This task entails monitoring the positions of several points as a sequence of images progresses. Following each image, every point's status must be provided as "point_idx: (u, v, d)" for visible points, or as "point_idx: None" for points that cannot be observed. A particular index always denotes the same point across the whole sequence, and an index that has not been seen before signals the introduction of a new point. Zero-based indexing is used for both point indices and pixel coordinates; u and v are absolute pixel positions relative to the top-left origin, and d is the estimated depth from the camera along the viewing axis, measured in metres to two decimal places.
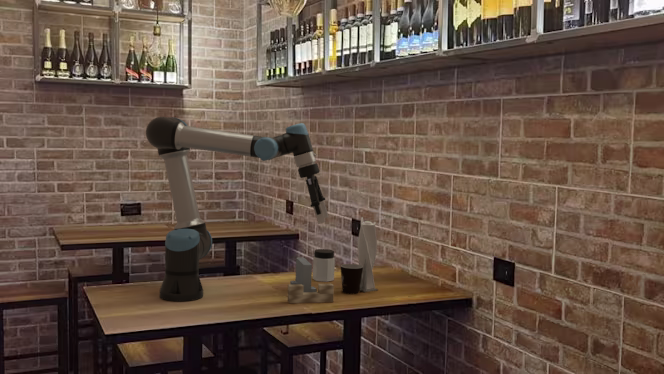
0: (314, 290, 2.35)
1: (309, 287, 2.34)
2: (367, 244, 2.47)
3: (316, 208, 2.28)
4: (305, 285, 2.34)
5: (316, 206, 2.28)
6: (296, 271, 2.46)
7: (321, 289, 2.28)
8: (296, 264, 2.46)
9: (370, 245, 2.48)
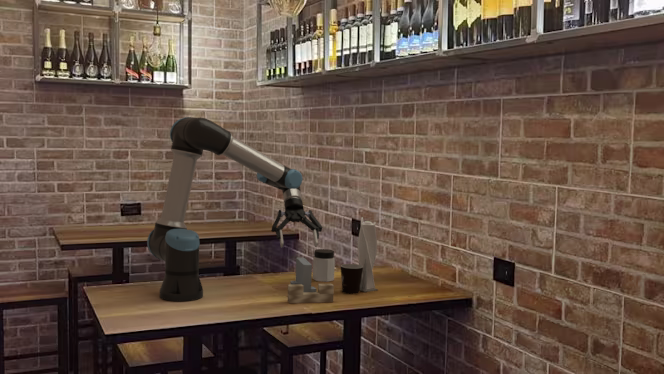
0: (314, 290, 2.35)
1: (309, 287, 2.34)
2: (367, 244, 2.47)
3: None
4: (305, 285, 2.34)
5: None
6: (296, 271, 2.46)
7: (321, 289, 2.28)
8: (296, 264, 2.46)
9: (370, 245, 2.48)
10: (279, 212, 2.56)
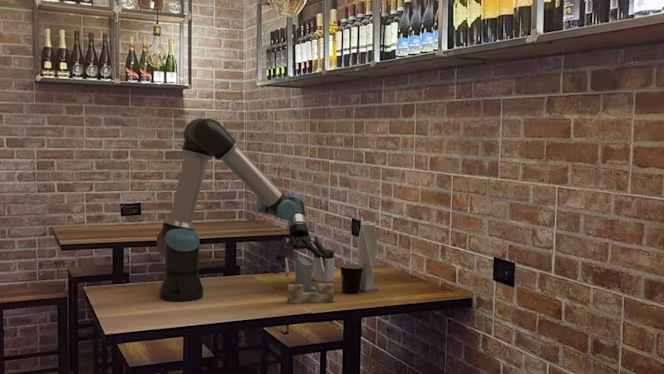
0: (314, 290, 2.35)
1: (309, 287, 2.34)
2: (367, 244, 2.47)
3: None
4: (305, 285, 2.34)
5: (324, 259, 2.46)
6: (296, 271, 2.46)
7: (321, 289, 2.28)
8: (296, 264, 2.46)
9: (370, 245, 2.48)
10: (284, 239, 2.47)
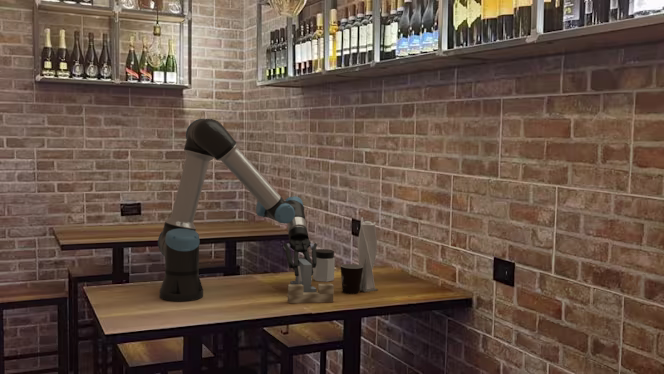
0: (314, 290, 2.35)
1: (309, 287, 2.34)
2: (367, 244, 2.47)
3: None
4: (305, 285, 2.34)
5: (312, 268, 2.42)
6: None
7: (321, 289, 2.28)
8: None
9: (370, 245, 2.48)
10: (285, 246, 2.44)
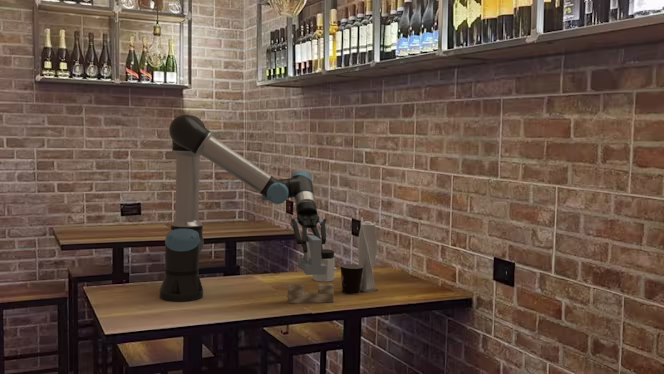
0: (324, 267, 2.22)
1: (318, 264, 2.21)
2: (367, 244, 2.47)
3: None
4: (314, 262, 2.21)
5: (321, 244, 2.29)
6: None
7: (321, 289, 2.28)
8: None
9: (370, 245, 2.48)
10: (293, 221, 2.31)
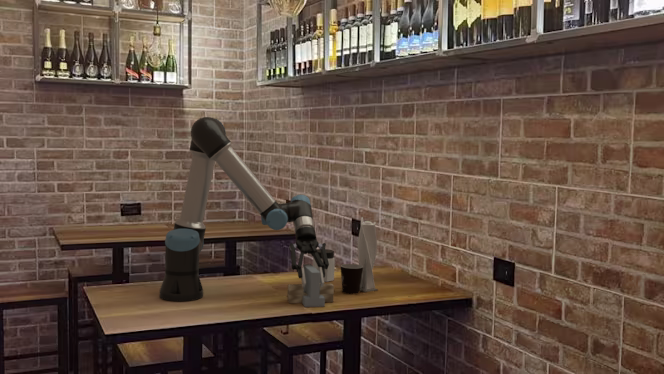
0: (322, 299, 2.22)
1: (317, 296, 2.22)
2: (367, 244, 2.47)
3: None
4: (312, 294, 2.21)
5: None
6: None
7: (321, 289, 2.28)
8: None
9: (370, 245, 2.48)
10: (291, 246, 2.32)
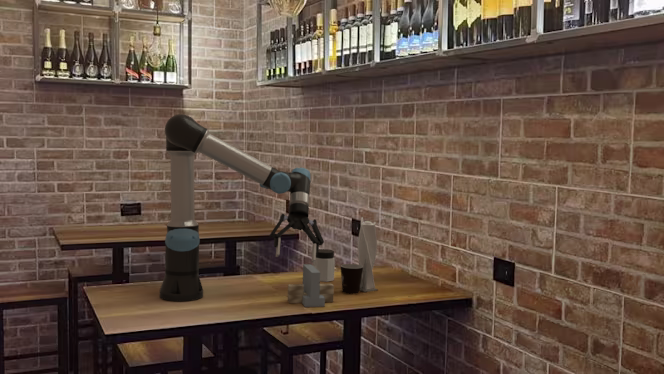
0: (322, 299, 2.22)
1: (317, 296, 2.22)
2: (367, 244, 2.47)
3: None
4: (312, 294, 2.21)
5: (318, 245, 2.39)
6: (303, 279, 2.33)
7: (321, 289, 2.28)
8: (303, 271, 2.33)
9: (370, 245, 2.48)
10: (282, 216, 2.38)
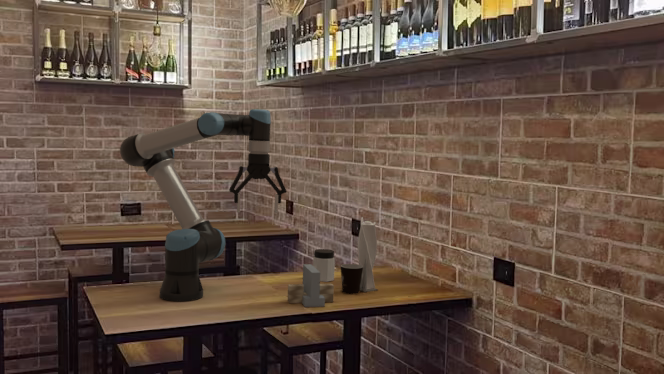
0: (322, 299, 2.22)
1: (317, 296, 2.22)
2: (367, 244, 2.47)
3: (280, 197, 2.32)
4: (312, 294, 2.21)
5: None
6: (303, 279, 2.33)
7: (321, 289, 2.28)
8: (303, 271, 2.33)
9: (370, 245, 2.48)
10: (240, 170, 2.26)
